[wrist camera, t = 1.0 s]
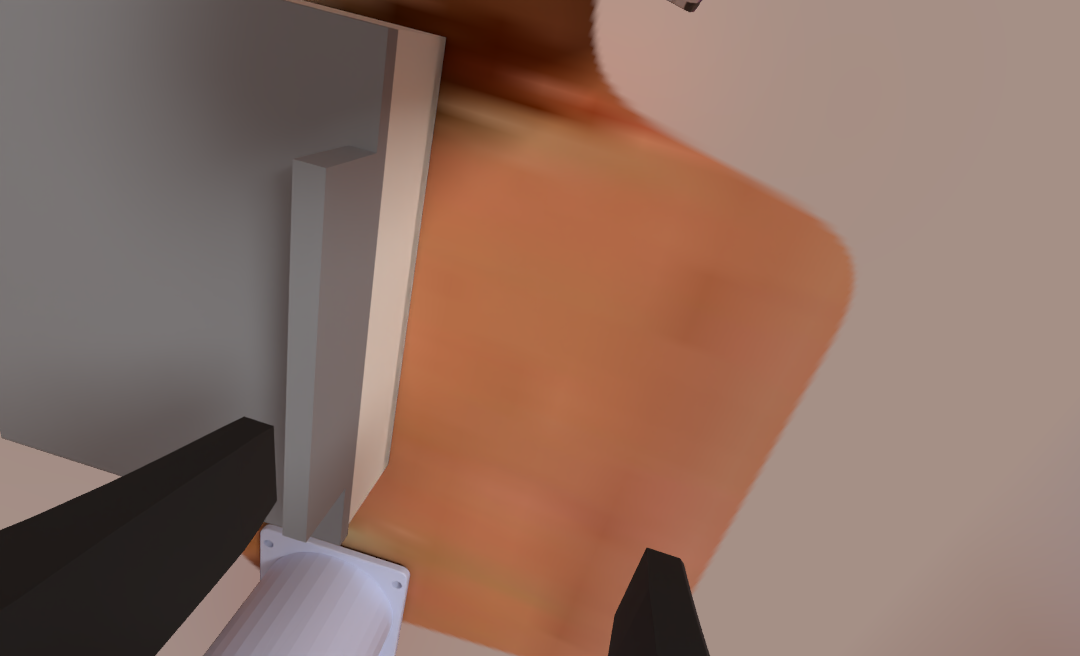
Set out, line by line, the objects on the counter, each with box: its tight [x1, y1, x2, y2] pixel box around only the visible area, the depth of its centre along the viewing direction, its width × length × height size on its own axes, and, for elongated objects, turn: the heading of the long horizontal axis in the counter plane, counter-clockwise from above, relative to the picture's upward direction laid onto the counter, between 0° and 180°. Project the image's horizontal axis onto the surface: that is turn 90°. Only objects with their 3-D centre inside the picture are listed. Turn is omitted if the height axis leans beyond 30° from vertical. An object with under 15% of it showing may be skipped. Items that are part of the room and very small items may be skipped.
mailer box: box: [286, 0, 446, 523], centre depth 20 cm, size 18×14×4 cm
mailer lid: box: [0, 0, 398, 546], centre depth 17 cm, size 18×14×3 cm
